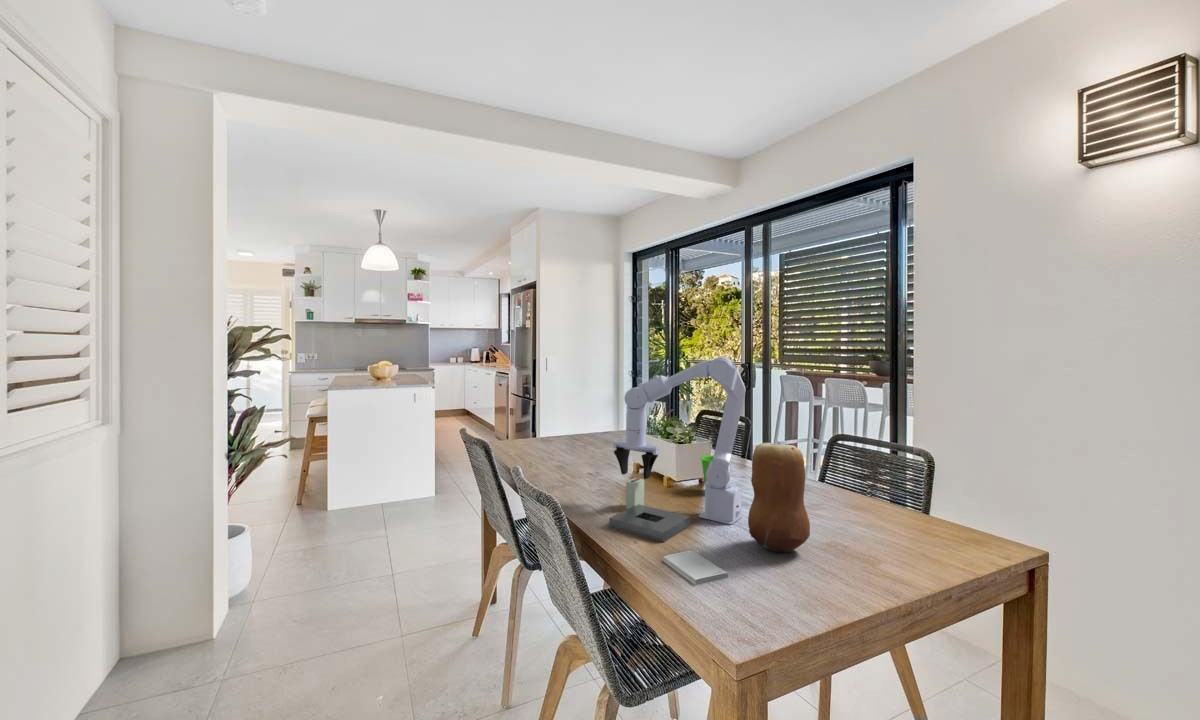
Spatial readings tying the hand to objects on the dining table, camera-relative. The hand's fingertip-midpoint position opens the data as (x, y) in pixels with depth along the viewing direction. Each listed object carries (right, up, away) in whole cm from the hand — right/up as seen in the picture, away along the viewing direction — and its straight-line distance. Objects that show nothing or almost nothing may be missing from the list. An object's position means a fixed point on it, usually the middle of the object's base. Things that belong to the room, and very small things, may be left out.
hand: (635, 475), depth 147 cm
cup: (+26, -9, +16) cm, 32 cm away
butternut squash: (+31, -11, -28) cm, 43 cm away
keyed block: (0, -9, 0) cm, 9 cm away
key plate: (+3, -10, -14) cm, 18 cm away
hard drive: (+10, -12, -38) cm, 41 cm away
